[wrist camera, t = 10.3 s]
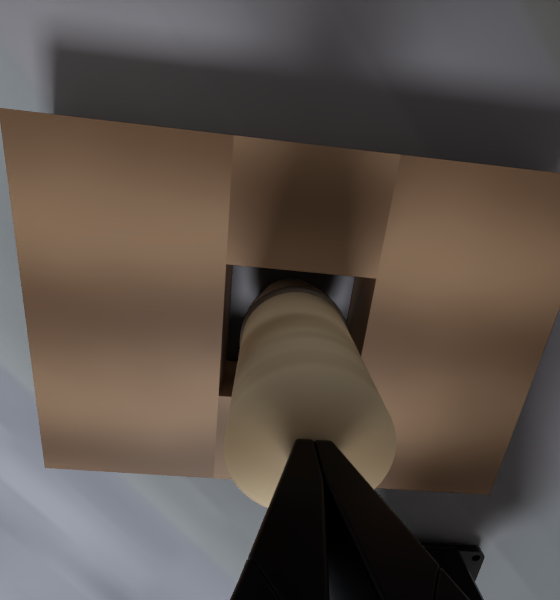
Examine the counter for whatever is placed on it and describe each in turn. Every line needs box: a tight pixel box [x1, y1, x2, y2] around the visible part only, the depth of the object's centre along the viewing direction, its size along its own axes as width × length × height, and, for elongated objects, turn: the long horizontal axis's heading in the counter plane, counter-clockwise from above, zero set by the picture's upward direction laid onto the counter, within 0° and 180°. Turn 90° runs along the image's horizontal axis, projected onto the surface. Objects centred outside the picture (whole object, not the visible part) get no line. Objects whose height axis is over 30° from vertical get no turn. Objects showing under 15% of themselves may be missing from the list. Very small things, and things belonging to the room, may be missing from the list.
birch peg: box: [223, 279, 396, 508], centre depth 13 cm, size 4×4×9 cm
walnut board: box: [0, 108, 560, 495], centre depth 16 cm, size 14×20×3 cm
